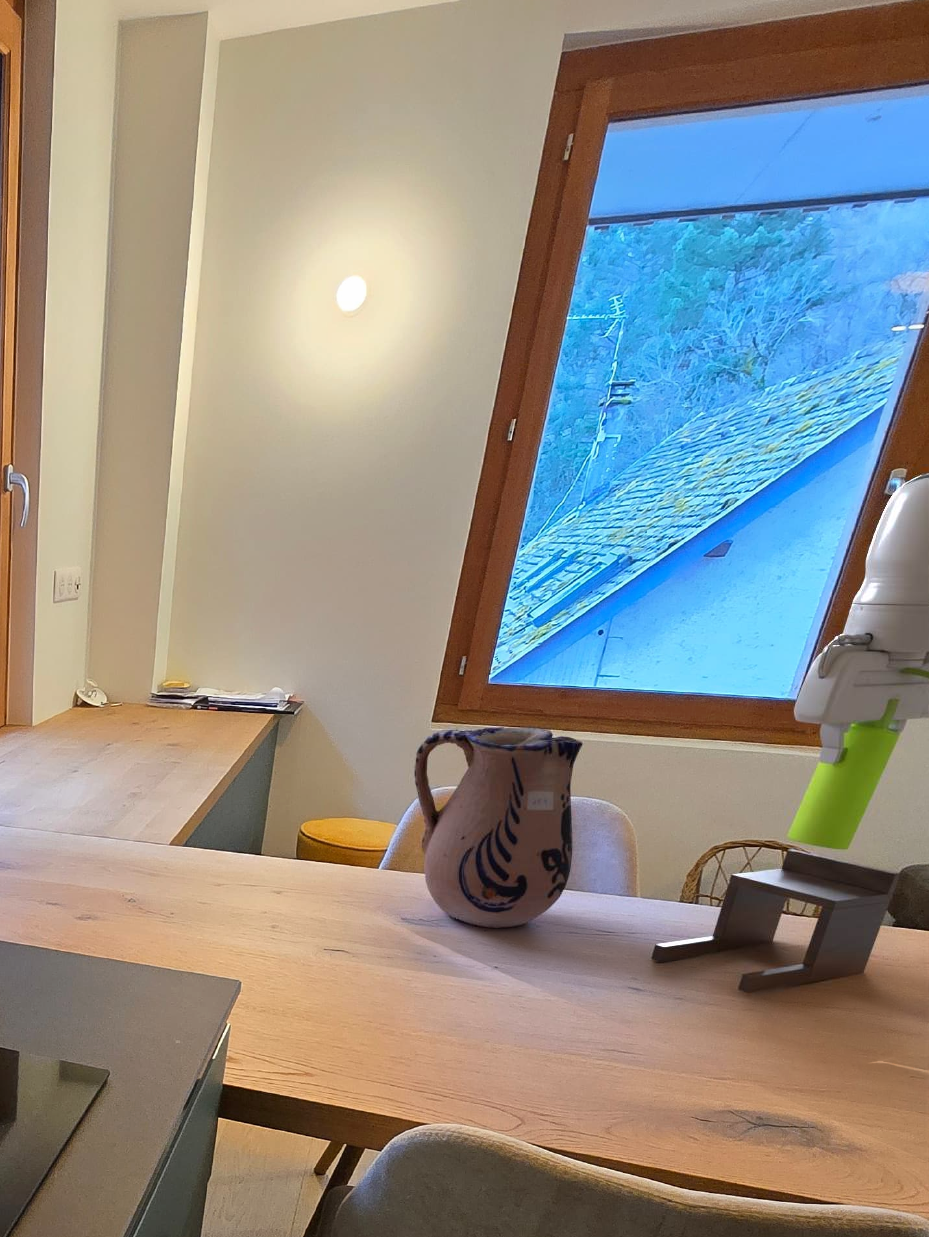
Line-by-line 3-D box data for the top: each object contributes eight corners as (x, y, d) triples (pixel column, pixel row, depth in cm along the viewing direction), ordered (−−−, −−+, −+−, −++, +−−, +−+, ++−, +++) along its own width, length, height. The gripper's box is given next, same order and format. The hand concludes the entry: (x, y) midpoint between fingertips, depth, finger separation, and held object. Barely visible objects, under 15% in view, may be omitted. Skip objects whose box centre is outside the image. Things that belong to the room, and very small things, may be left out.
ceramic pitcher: (558, 949, 133) (609, 753, 122) (383, 926, 141) (416, 740, 130) (553, 905, 147) (597, 726, 136) (394, 887, 155) (424, 716, 144)
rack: (863, 973, 124) (900, 873, 119) (747, 993, 118) (782, 888, 113) (762, 942, 134) (792, 849, 130) (650, 959, 128) (678, 862, 123)
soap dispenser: (862, 854, 117) (947, 671, 110) (789, 841, 121) (866, 662, 113) (854, 846, 122) (935, 671, 114) (784, 834, 125) (858, 662, 118)
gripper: (863, 635, 107) (819, 770, 112) (987, 633, 113) (940, 761, 119) (799, 632, 112) (760, 761, 118) (920, 630, 119) (879, 752, 124)
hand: (851, 761), depth 118 cm, fingers closed on soap dispenser, 6 cm apart
